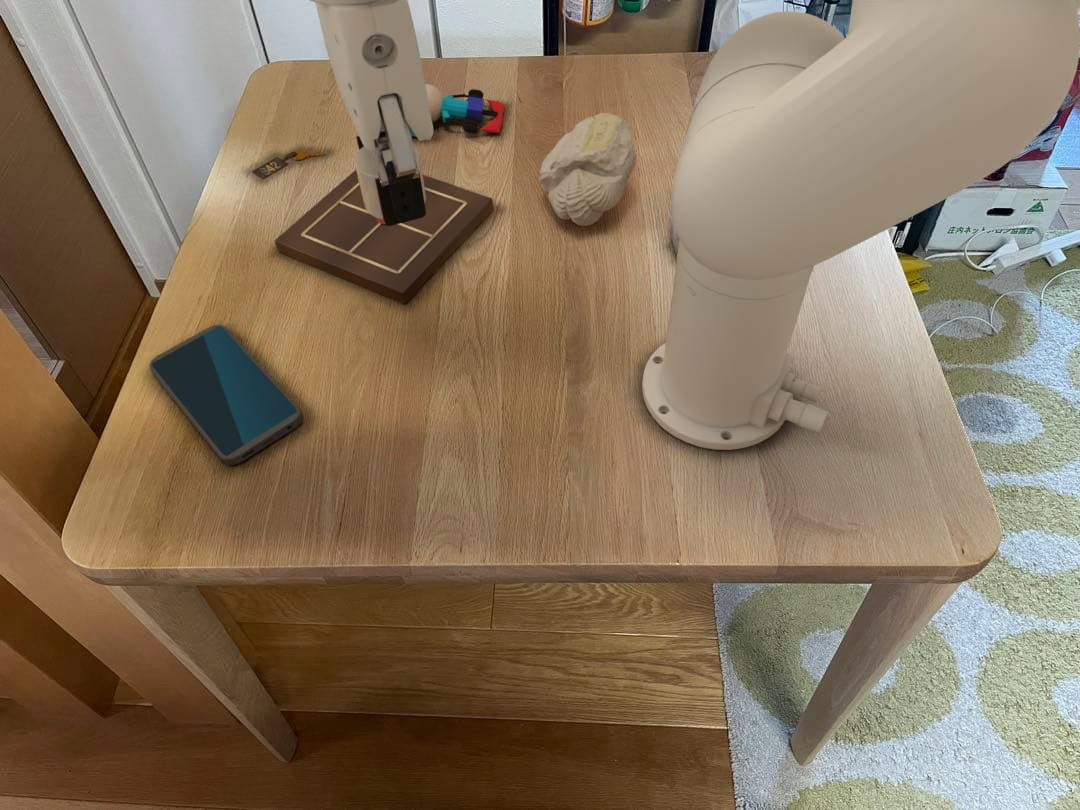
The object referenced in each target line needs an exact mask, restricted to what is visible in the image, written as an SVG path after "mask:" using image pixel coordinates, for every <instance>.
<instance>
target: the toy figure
mask: <svg viewBox="0 0 1080 810" xmlns="http://www.w3.org/2000/svg"><path fill="white" fill-rule="evenodd" d="M425 85H426V91H427V97H428V102H429V108H430V113H431V119H432V123H433V122H436V121H438V120H439V118H440V117H441V118H442V121H443V123H451V124H454V125H457V126H462V130H463V131H464V132H467V133H471V134H477V133H478V132H479V130H480V131H482V132H485V133H486V132H487V133H492V134H498V133H500V131H501V129H502V124H503V116H504V112H505V106H506V105H505V104H504V103H503V102H501V101H497V100H492V99H487V98H486V99H484V92H483V91H482V90H481V89H476V88H472V89H469V91H468V92H467V94H465V93H462V94H461V93H460V94H448V95H446V97H444V95H443V93H442V92H441V90H440V89H438V87H436V86H435V85H433V84H429V83H425ZM458 98H467V99H466V100H465V99H458ZM485 101H486V102H487V103H488V104H489V106H490V108H491V109H492V110H490V109H484V105H485V104H484V102H485ZM483 116H485V117H486V116H487V117H493V119H492V120H490V122H488V123H487V124H486V125H484V126H482V127H481V128H479V127H480V124H481V122H482V120H483V119H482V118H483ZM459 120H463V122H461V121H459ZM409 127H410V126H409ZM410 132H411V137H415V138H417V137H416V135H415V134H414V132H413V131H412V129H411V128H410Z"/></svg>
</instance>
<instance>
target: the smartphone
mask: <svg viewBox="0 0 1080 810" xmlns="http://www.w3.org/2000/svg"><path fill="white" fill-rule="evenodd" d="M149 368H150V371H151V373H152V374H153V376H154V377H155V378H156V380H157V381H158V382H159V384H160V385H161V386H162V388H163V389H164V390H165V391H166V393H167V394H168V395H169V397H170V398H172V400H173V401H174V402H175V403H176V404H177V406H178V407H179V408H180V410H181V411H182V412H183V413H184V415H185V416H186V417H187V419H188V420H189V421H190V422H191V424H192V425H193V426H194V427H195V429H196V430H197V431H198V432H199V434H200V435H201V436H202V438H203V439H204V440H205V441H206V443H207V444H208V445H209V446H210V448H211V449H212V450H213V451H214V453H215V454H216V455H217V456H218V457H219V459H220V460H221V461H222V462H223V463H225V464H226V465H228V466H229V465H230V466H231V465H232V466H234V465H237V464H240V463H242V462H244V461H246V460H248V459H249V458H251V457H252V456H253V455H255V454H257V453H258V452H260V451H261V450H263V449H265V448H266V447H267V446H269V445H270V444H272V443H274V442H276V441H278V440H279V439H280V438H282V437H284V436H285V435H287V434H288V433H290V432H292V431H293V430H294V429H296V428H298V426H299V425H300V424H301V423H302V422H303V417H304V416H303V413H302V411H301V409H300V406H298V405H297V404H296V403H295V401H294V400H293V399H292V398H291V397H290V396H289V395H288V394H287V393H286V392H285V390H284V389H283V388H282V387H281V386H280V385H279V384H278V383H277V382H276V380H274V378H273V377H272V376H271V375H270V374H269V373H268V372H267V371H266V370H265V368H264V367H263V366H262V365H261V364H260V362H258V361H257V360H256V359H255V357H254V356H252V354H251V353H249V351H248V350H247V349H246V348H245V346H244V345H243V344H242V343H241V342H240V341H239V340H238V339H237V338H236V337H235V336H234V335H233V333H232V332H230V330H229V329H228V328H227V327H225V326H224V325H222V324H214V325H211V326H209V327H207V328H204V329H203V330H202V331H200V332H197V333H196V334H194V335H192V336H191V337H189V338H187V339H185V340H184V341H183V340H182V341H181V342H180V343H178V344H176V345H174V346H172V347H170V348H169V349H166V350H165V351H163V352H162V353H160V354H158V355H157V356H155V357H154V358H153V359H151V361H150V362H149Z"/></svg>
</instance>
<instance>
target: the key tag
mask: <svg viewBox="0 0 1080 810" xmlns="http://www.w3.org/2000/svg"><path fill="white" fill-rule="evenodd" d="M326 155H327V154H326V153H325V152H310V151H306V150H305V149H297V150H294V151H291V152H289V153H287V154H285V155H284V157H282V158H280V157H278V156H276V157H274V158H272V159H271V160H269V161H267V162H265V163H263V164H262V165H260V166H259V167H257V168H255V169H253V170H252V171H251V173H252V174H254V175H255V176H257V177H258V178H260V179H261V180H265V179H266V178H268V177H270V176H271V175H274V174H275V173H277V172H279V171H281V170H282V169H284V168H285V167H287V166H289V163H288V162H287V160H289V159H293V160H295V161H303V160H305V159H306V158H307V159H309V158H310V157H311V158H314V157H316V158H318V157H324V156H326Z"/></svg>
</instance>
